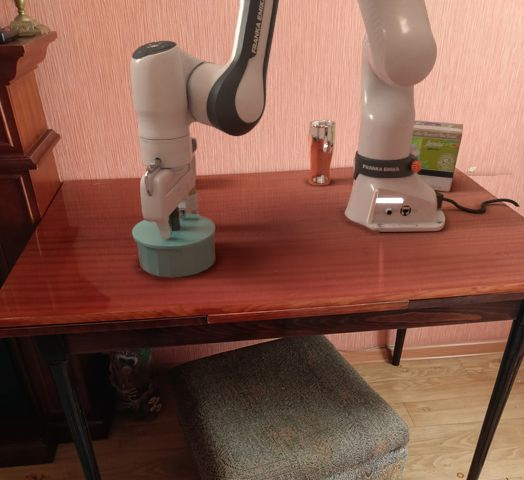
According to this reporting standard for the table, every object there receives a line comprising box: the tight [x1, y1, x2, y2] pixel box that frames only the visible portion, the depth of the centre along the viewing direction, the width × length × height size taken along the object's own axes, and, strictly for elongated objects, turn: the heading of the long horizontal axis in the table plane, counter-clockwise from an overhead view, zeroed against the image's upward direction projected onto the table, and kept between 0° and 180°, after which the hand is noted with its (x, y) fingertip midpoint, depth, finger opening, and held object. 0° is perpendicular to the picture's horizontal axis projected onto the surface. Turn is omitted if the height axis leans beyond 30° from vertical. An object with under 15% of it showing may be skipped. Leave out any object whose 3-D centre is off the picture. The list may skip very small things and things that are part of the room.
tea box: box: [410, 119, 464, 193], centre depth 135 cm, size 15×10×15 cm, turn 72°
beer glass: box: [307, 119, 337, 187], centre depth 136 cm, size 7×7×15 cm
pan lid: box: [131, 207, 216, 249], centre depth 98 cm, size 16×16×5 cm
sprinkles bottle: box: [187, 181, 200, 215], centre depth 111 cm, size 5×5×14 cm
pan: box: [135, 234, 217, 278], centre depth 101 cm, size 15×15×6 cm
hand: (174, 226), depth 98 cm, fingers open, 8 cm apart
